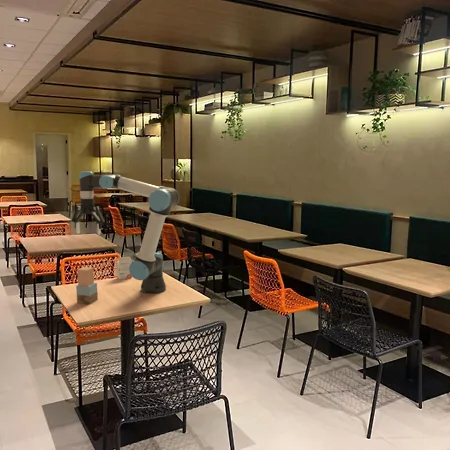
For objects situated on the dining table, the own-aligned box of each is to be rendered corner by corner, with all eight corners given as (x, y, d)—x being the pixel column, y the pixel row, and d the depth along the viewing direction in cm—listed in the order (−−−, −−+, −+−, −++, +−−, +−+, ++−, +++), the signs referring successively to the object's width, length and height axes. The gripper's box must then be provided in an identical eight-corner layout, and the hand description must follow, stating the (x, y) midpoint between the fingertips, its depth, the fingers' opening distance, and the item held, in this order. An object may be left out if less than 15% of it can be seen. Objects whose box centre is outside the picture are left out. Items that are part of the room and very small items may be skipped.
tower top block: (97, 291, 252) (96, 282, 251) (89, 295, 244) (89, 286, 243) (84, 290, 254) (84, 282, 253) (76, 294, 246) (76, 285, 245)
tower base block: (97, 300, 252) (97, 291, 252) (90, 304, 245) (89, 295, 244) (85, 299, 254) (84, 290, 254) (77, 303, 247) (76, 294, 246)
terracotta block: (93, 283, 250) (93, 267, 249) (87, 286, 244) (87, 270, 243) (84, 282, 252) (83, 267, 250) (78, 285, 246) (77, 269, 245)
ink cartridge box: (129, 276, 303) (129, 255, 301) (131, 278, 299) (131, 256, 297) (117, 277, 299) (116, 256, 297) (119, 279, 295) (118, 257, 293)
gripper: (109, 198, 262) (111, 233, 265) (71, 197, 267) (73, 232, 270) (103, 199, 255) (104, 235, 258) (64, 198, 260) (66, 234, 263)
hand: (88, 234), depth 264 cm, fingers open, 13 cm apart
